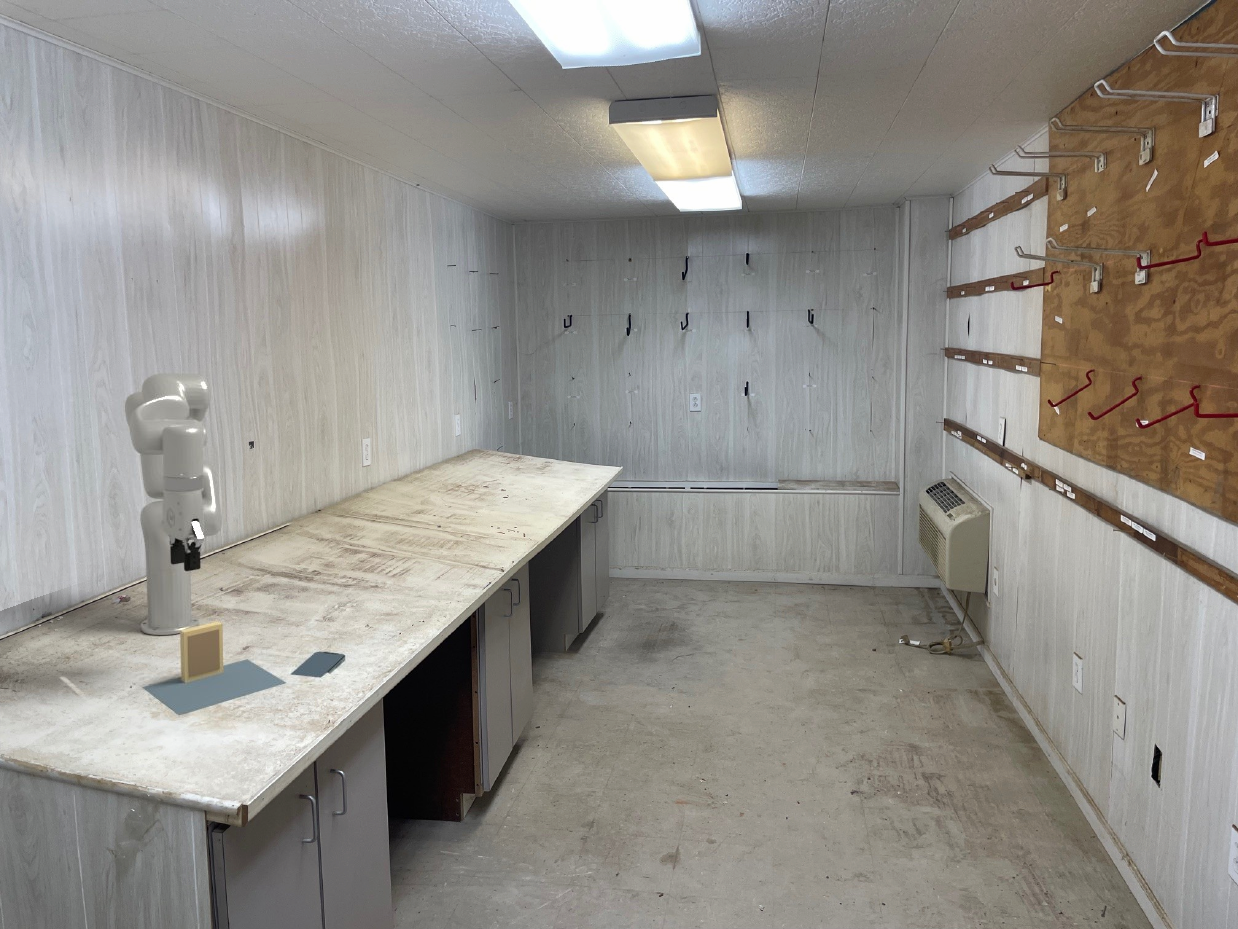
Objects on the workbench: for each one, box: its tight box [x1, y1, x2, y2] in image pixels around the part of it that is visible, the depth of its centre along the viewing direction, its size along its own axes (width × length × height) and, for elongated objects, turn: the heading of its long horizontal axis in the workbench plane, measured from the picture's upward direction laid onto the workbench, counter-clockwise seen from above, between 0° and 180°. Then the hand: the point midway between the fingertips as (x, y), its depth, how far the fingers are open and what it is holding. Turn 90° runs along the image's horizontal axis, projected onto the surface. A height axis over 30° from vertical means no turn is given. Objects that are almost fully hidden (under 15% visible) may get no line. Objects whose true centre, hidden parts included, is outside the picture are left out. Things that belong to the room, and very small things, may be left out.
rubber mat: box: [142, 658, 287, 716], centre depth 177 cm, size 17×22×1 cm
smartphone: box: [289, 651, 346, 679], centre depth 189 cm, size 8×2×15 cm
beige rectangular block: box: [179, 621, 224, 683], centre depth 180 cm, size 2×8×11 cm, turn 140°
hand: (185, 565), depth 181 cm, fingers open, 5 cm apart
